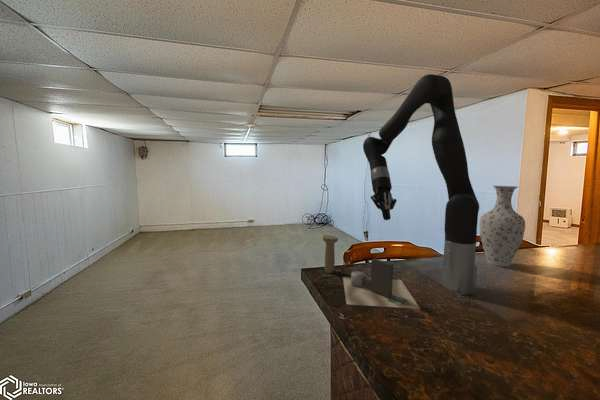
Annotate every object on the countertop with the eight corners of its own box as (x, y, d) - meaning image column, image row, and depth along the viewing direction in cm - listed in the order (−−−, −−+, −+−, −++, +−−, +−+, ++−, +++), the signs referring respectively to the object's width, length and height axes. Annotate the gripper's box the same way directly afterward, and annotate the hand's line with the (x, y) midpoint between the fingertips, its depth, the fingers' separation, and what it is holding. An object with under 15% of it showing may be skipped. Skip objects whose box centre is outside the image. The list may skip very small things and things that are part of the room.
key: (347, 282, 94) (348, 253, 93) (357, 279, 97) (358, 251, 96) (396, 305, 79) (398, 270, 78) (406, 300, 82) (408, 266, 81)
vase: (518, 262, 122) (526, 186, 119) (524, 273, 109) (533, 187, 105) (476, 256, 131) (482, 184, 127) (476, 266, 117) (483, 186, 114)
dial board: (400, 283, 98) (400, 279, 98) (420, 312, 77) (420, 308, 77) (342, 280, 100) (342, 276, 100) (346, 308, 80) (346, 303, 79)
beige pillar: (329, 278, 102) (330, 239, 100) (319, 272, 107) (320, 236, 106) (339, 276, 104) (340, 238, 103) (329, 270, 110) (330, 234, 108)
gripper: (375, 172, 106) (382, 214, 99) (398, 179, 112) (406, 219, 106) (362, 180, 111) (368, 220, 105) (385, 186, 118) (391, 224, 111)
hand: (387, 219), depth 105 cm, fingers closed
